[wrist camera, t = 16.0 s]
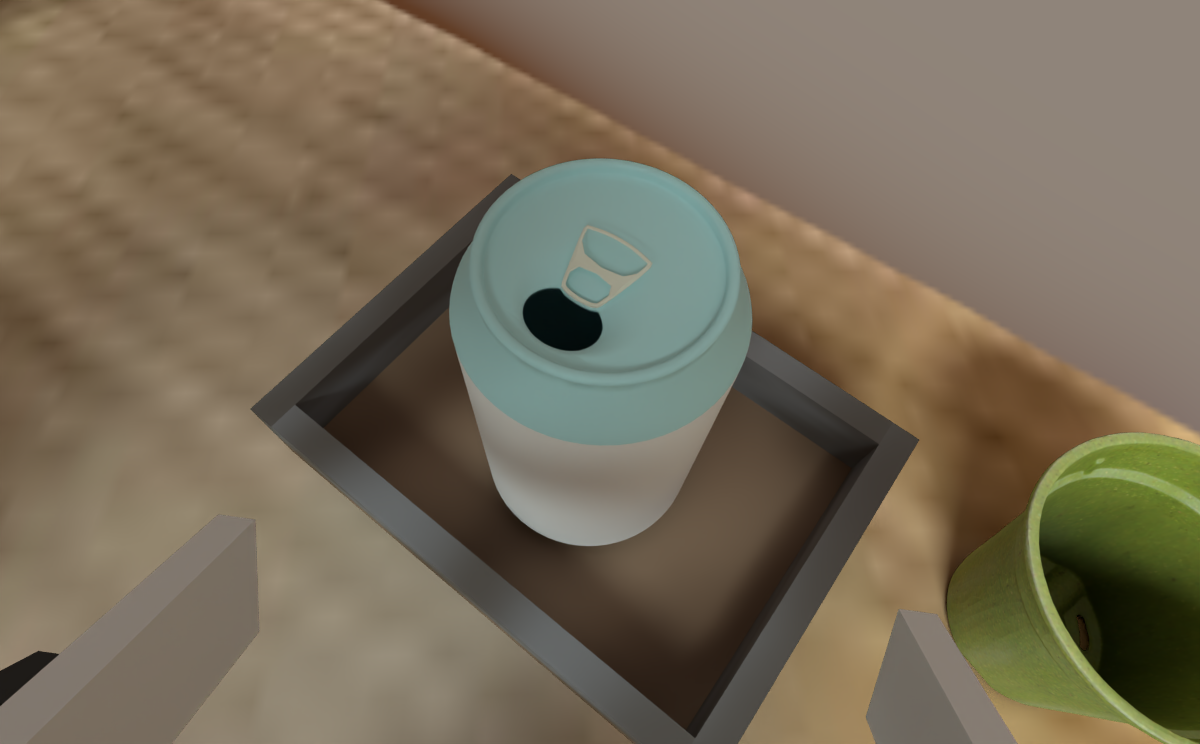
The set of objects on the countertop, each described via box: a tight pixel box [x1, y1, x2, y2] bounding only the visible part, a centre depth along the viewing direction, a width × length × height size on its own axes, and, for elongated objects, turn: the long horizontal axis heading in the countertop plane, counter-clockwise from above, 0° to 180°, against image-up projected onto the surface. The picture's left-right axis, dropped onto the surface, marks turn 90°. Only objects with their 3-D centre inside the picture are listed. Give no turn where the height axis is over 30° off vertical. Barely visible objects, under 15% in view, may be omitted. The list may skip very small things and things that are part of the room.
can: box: [449, 158, 752, 546], centre depth 20 cm, size 7×7×12 cm
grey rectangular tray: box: [251, 174, 919, 744], centre depth 27 cm, size 18×13×7 cm
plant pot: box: [947, 432, 1200, 744], centre depth 24 cm, size 9×9×9 cm
